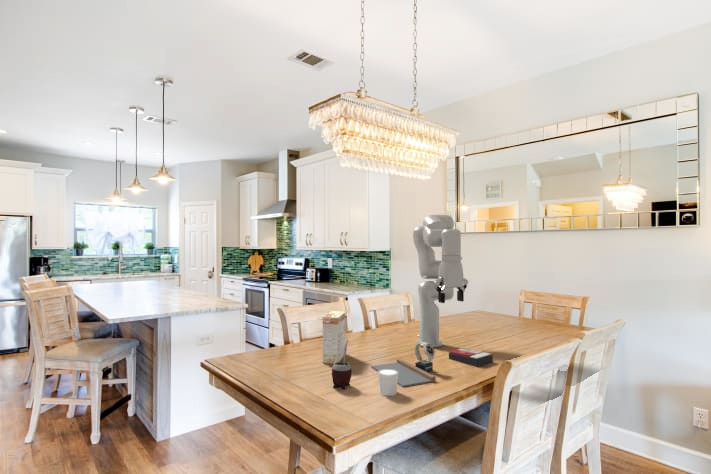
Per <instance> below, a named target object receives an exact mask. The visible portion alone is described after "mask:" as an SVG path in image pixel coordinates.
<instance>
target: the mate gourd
mask: <svg viewBox="0 0 711 474" xmlns="http://www.w3.org/2000/svg"><path fill="white" fill-rule="evenodd" d="M348 342H349V340H346V339H345V348H344V351H345V352H344V356H343V361H339V362H337V363H335V364H333V365H332V367H331V368H332V370H331V377H332V382H333V383H332V384H333V387H332V389H337V388H338V389H339V388H340V389H341V388H342V390H344V391H345V390H347V387H351V384H350V382H351V378H352V374H353V373H352V366H351V364H350V363H349V362H346V358H347V357H346V355H347V349H348V348H347V347H348Z"/></svg>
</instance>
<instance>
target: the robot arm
mask: <svg viewBox="0 0 711 474" xmlns="http://www.w3.org/2000/svg"><path fill="white" fill-rule="evenodd" d="M454 225H455V222H454V218H453V217H452V216H451V215H449V214H429V215H427V216H425V217H424V218H423V221H422V225H420V226H417V227H415V228H414V229H413V232H412V238H413V239H412V240H413V243H414V244H413V245H414V246H415V249H416V253H417V257H418V271H419V276H420V277H421V279H425V280H424V281H422V282H420V283H419V284H418V286H417V291H418V299H419V334H417V335H416V337H418V340H416V345H417V344H418V343H422V342H426V343H428V344H430V345H431V346H432V347H433V348H440V347H442V346H443V342H442V341H440V308H439V306H438V305H437V304H436V303H435V301H438V303H440V304H445V303H446V301H450V300H452V299H453V298H454V295H455V294H454V293H455V292H454V288H456V289H457V291H456V301H458V302H464V299H465V297H464V295H465V294H464V293H465V292H466V289H467V287H468V286H467V285H468V284H469V280H468V279H467V278H465V277H464V269H463V264H462V262H461V261H462V259H463V258H462V256H461V254H462V249H461V247H462V246H461V245H462V244H461V243H462V241H461V239H462V238H461V237H462V235H461V233H462V232H461V230H459V229H458V228H454V227H455V226H454ZM434 248H441V260H436V253H435V250H434ZM419 347H423V344H420V345H419ZM423 348H424V347H423Z"/></svg>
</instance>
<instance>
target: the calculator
mask: <svg viewBox="0 0 711 474" xmlns="http://www.w3.org/2000/svg"><path fill="white" fill-rule="evenodd" d="M493 357H494V356H493V354H492V353H488V352H483V351H481V350H477V349H471V348H465V347H463V348H458V349H455V350H451V351H450V352H448V359H449V360H452V361H456V362H458V363H462V364H467V365H469V366H472V367H475V368H480V367H483V366H486V365H490V364H493V362H494V360H493Z"/></svg>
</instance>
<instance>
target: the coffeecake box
mask: <svg viewBox="0 0 711 474" xmlns="http://www.w3.org/2000/svg"><path fill="white" fill-rule="evenodd" d="M345 344H346V311H343V310H342V311H341V310H340V311H339V310H331V311H330V312H328V313H327V314H325V315H324V316H322V363H323V364H333V365H334V364H335V363H337V362H341V360H342V359H344V352H345V351H344V348H345Z"/></svg>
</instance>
